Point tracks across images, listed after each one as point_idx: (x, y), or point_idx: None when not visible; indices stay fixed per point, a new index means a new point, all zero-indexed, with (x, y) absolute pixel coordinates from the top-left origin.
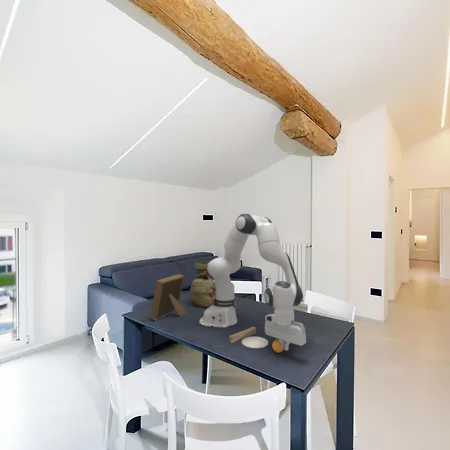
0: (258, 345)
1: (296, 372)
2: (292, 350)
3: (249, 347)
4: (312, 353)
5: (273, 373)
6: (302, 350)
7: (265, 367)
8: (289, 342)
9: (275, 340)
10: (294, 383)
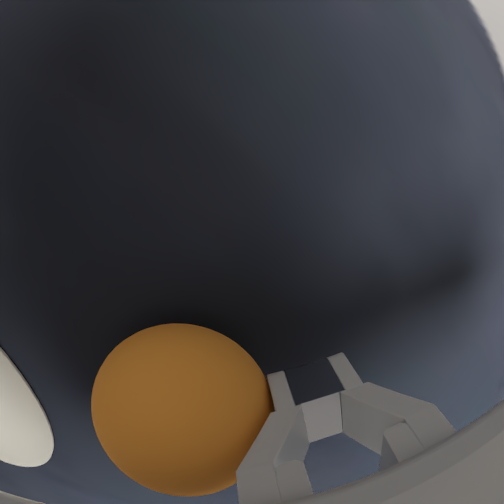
0: (14, 415)
1: (475, 377)
2: (235, 169)
3: (40, 464)
4: (411, 40)
5: None
6: (307, 55)
7: None
8: (432, 425)
9: (143, 485)
10: None
